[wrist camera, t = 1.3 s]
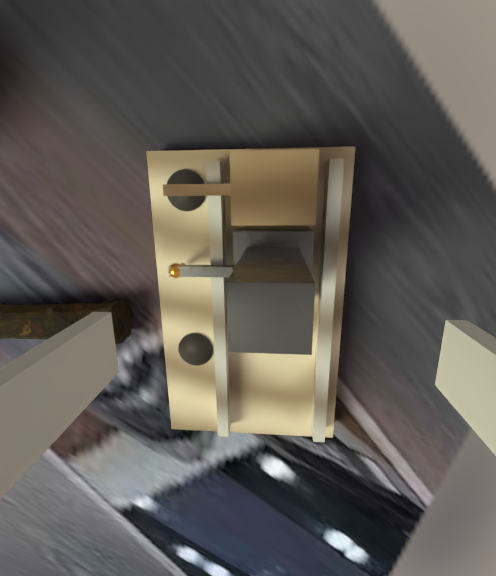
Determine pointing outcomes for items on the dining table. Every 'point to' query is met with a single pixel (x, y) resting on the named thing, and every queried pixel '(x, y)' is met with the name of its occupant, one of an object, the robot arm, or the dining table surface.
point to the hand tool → (60, 319)
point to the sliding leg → (266, 290)
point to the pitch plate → (212, 290)
